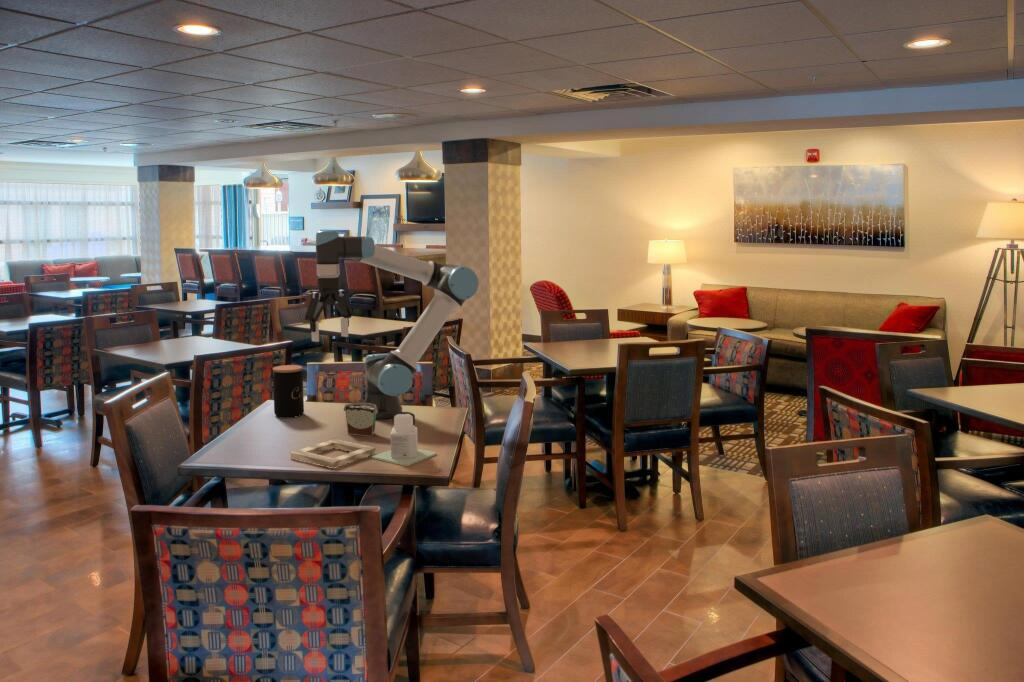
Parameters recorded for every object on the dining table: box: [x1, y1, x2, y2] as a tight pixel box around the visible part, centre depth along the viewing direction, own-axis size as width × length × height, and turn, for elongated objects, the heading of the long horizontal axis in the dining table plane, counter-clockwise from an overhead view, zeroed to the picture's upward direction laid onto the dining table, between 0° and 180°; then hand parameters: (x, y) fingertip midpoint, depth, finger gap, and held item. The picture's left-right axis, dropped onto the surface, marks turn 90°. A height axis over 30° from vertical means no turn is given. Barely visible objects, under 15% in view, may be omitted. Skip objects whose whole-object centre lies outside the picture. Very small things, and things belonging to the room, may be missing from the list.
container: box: [390, 411, 419, 458], centre depth 233 cm, size 8×8×13 cm
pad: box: [371, 448, 438, 467], centre depth 234 cm, size 14×14×1 cm
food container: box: [343, 402, 378, 437], centre depth 260 cm, size 12×6×10 cm, turn 71°
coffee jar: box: [272, 364, 305, 418], centre depth 283 cm, size 11×11×18 cm
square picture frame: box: [290, 438, 377, 468], centre depth 233 cm, size 18×18×2 cm
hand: (330, 338), depth 261 cm, fingers open, 13 cm apart
